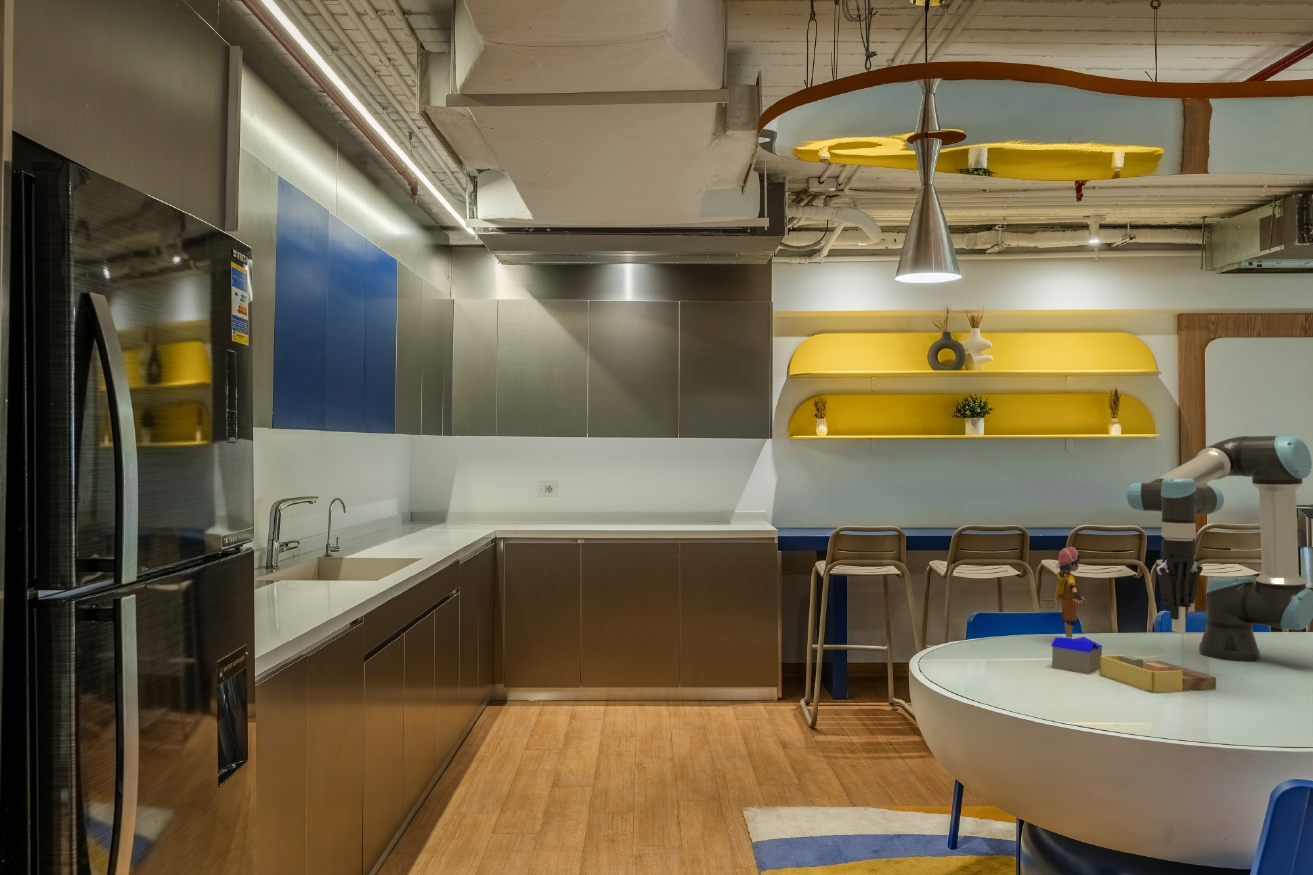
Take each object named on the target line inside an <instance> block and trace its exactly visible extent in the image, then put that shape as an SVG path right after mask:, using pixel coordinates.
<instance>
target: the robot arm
mask: <svg viewBox="0 0 1313 875" xmlns="http://www.w3.org/2000/svg"><path fill="white" fill-rule="evenodd" d="M1312 465H1313V462H1312V455H1311V452H1310V449H1309V447H1308V446H1307V444H1306V443H1305V442H1304V440H1303V439H1301V438H1299V437H1297V436H1293V435H1292V436H1290V435H1281V434H1280V435H1262V436H1261V435H1260V436H1258V435H1255V436H1253V435H1252V436H1251V435H1250V436H1248V435H1243V436H1242V435H1239V436H1234V437H1230V438H1228V439H1227V438H1226V439H1224V440H1221V441H1218V442H1216V443H1213V444H1211V445H1209V446H1207V447H1205V448H1203V449H1202V450H1200V451H1199V452H1198V453H1197V455H1196V457H1194V458H1193V459H1191V460H1189V461H1187V462H1185V463H1183V464H1181V465H1180V466H1178V467H1175V468H1174V469H1172V470H1170V471H1168V472H1167V473H1164V474H1163V475H1161V476H1159V477H1157V478H1155V479H1153V480H1151V481H1149V482H1143V481H1142V482H1134V483H1131V485H1129V487H1128V489H1127V492H1126V498H1127V499H1126V500H1127V503H1128V505H1129V507H1130V508H1132V509H1133V510H1138V511H1143V512H1159V513H1161V537H1162V540H1161V553H1162V554H1163V558H1162V563H1161V564H1160V565H1159V566H1154V568H1153V570H1154V572H1155V574H1156V576H1157V579H1158V584H1159V590H1160V594H1161V599H1162V603H1163V604H1165V605H1167V606H1169V609H1170V610H1169V611H1170V612H1169V614H1170V615H1169V617H1170V619H1171V632H1173V633H1174V632H1175V633H1178V634H1185V633H1186V619H1187V618H1188V608H1190V607H1191V606H1192V605H1193V604H1195V601H1196V600H1195V599H1196V595H1197V590H1198V584H1199V580H1200V579H1199V578H1200V575H1201V573H1202V572H1203V566H1201V565H1198V564H1197V563H1195V562H1196V561H1195V559H1194V556H1195V555H1196V553H1197V551H1196V550H1197V549H1196V548H1197V546H1196V541H1195V540H1194V539H1196V537H1197V534H1196V533H1197V532H1196V530H1197V529H1196V515H1210V514H1214V513H1217V512H1219V511H1220V510H1221V509H1222V507H1223V506H1224V503H1225V498H1224V494H1223V492H1222V491H1221V490H1220V489H1219V488H1218V487H1217V486H1215V485H1210V484H1208V483H1209V482H1211V481H1214V480H1216V481H1217V480H1222V479H1224V478H1226V477H1248V478H1249V477H1250V478H1251V480H1252V481H1251V482H1252V485H1253V486H1254V487H1255V488H1256V489H1257V490H1258V500H1259V524H1260V525H1259V526H1260V528H1259V529H1260V556H1261V558H1260V560H1261V561H1260V562H1261V573H1260V574H1259V575H1258V576H1257V577H1256V578H1255V580H1254V578H1253V577H1250V576H1226V577H1225V576H1223V577H1221V576H1220V577H1213V578H1210V579H1208V580H1207V583H1206V591H1205V595H1206V598H1205V600H1206V601H1205V602H1206V603H1205V604H1206V606H1205V611H1206V613H1205V616H1206V618H1205V620H1206V621H1205V622H1206V623H1205V625H1206V626H1205V629H1204V633H1203V635H1202V638H1201V641H1200V642H1199V644H1198V645H1199V646H1198V649H1199V650H1198V651H1199V652H1198V653H1199V654H1202V655H1204V656H1206V657H1207V656H1208V657H1211V658H1216V659H1221V660H1222V659H1223V660H1230V661H1239V662H1252V661H1253V662H1254V661H1259V660H1260V659H1261V651H1260V649H1259V648H1258V644H1257V641H1256V637H1255V634H1254V625H1260V626H1266V627H1272V628H1277V629H1282V630H1291V631H1292V630H1293V631H1302V630H1304V629H1306V628H1307V627H1308V626H1309V625H1310V624H1311V622H1312V620H1313V590H1310V588H1307V582H1306V580H1305V579H1304V578H1302V577H1301V576H1300V573H1299V572H1300V570H1299V545H1298V544H1299V543H1298V542H1299V540H1298V516H1297V515H1298V514H1297V513H1298V511H1297V510H1298V507H1297V489H1299V488H1300V487H1301V486H1303V479H1305V478H1308V477H1309V475H1311V472H1312V471H1311V469H1312Z"/></svg>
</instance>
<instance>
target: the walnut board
mask: <svg viewBox="0 0 1313 875" xmlns="http://www.w3.org/2000/svg"><path fill="white" fill-rule="evenodd" d="M1145 662H1154V663H1158V664H1161V665H1164V666H1168V667H1169V671H1176V670H1181V671H1183V686H1182V691H1181V692H1190V690H1192V691H1193V690H1195V691H1210V690H1211V691H1213V689H1214V690H1216V689H1217V678H1216V677H1215V676H1212V675H1209V674H1205V673H1202V672H1199V671H1195V670H1191V669H1188V668H1185V667H1181V666H1178V665H1175V664H1171V663H1168V662H1166V661H1165V662H1164V661H1161V660H1149V661H1148V660H1147V661H1143V663H1145ZM1192 691H1191V692H1192Z"/></svg>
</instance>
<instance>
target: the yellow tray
mask: <svg viewBox="0 0 1313 875" xmlns="http://www.w3.org/2000/svg"><path fill="white" fill-rule="evenodd" d="M1121 655H1122V654H1116V655H1115V654H1113V655H1102V656H1099V672H1098V673H1099V674H1098V675H1099V676H1102V677H1105V678H1107V679H1110V680H1114V681H1115V682H1120V683H1123V684H1125V685H1128V686H1131V687H1134V688H1138V689H1139V690H1144V691H1146V692H1148V693H1152V694H1154V693H1155V694H1157V693H1156V692H1158V693H1171V692H1172V693H1173V692H1175V693H1176V692H1183V691H1182V686H1183V671H1181V670H1176V671H1155V672H1152V671H1149V670H1146V669H1143V668H1139V667H1136V666H1133V665H1130V664H1126V663H1123V662H1120V661H1119V656H1121Z"/></svg>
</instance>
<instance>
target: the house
mask: <svg viewBox="0 0 1313 875" xmlns="http://www.w3.org/2000/svg"><path fill="white" fill-rule="evenodd" d="M1050 647H1052V651H1051V652H1052V655H1051V658H1052V661H1051V665H1052V666H1051V668H1052V669H1058V670H1063V669H1064V670H1065V671H1069V672H1075V673H1080V674H1086V675H1087V674H1088V675H1090V674H1092V673H1094V672H1097V671H1098V669H1099V656H1103V655H1102V654H1103V653H1102V652H1103V648H1104V646H1103V645H1101V644H1100V643H1097V642H1095V641H1093V640H1091V639H1090V638H1087V637H1085V636H1081V637H1075V638H1072V639H1070V638H1066V637H1063V636H1059V637H1056V636H1055V638H1054V640H1053V642H1052V643H1051V645H1050ZM1064 670H1063V671H1064Z"/></svg>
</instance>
